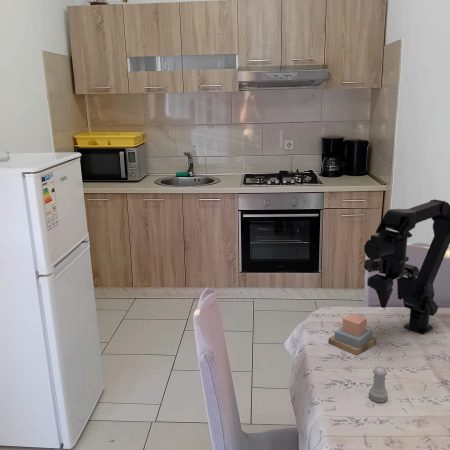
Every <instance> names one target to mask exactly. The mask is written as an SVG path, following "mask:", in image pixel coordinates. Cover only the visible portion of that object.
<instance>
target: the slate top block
mask: <svg viewBox="0 0 450 450" xmlns="http://www.w3.org/2000/svg"><path fill="white" fill-rule="evenodd" d="M342 330H343V326H341V327H340V328H339V329H337V330H335V331H334V335H335V336H334V335H333V336H334V339H335V340H337V341H340V342H343V343H345V344H348V345H351V346H353V347H356V348H360V347H361V346H363V345H364V344H365V343H367V342H368V341H369V340H371V339H372V338H373V330H371V329H368V328H366V331H365V332H364V333H362V334H361V335H359V336H358V337H357V336H354V335H351V334H349V333H346V332H343V331H342Z"/></svg>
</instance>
